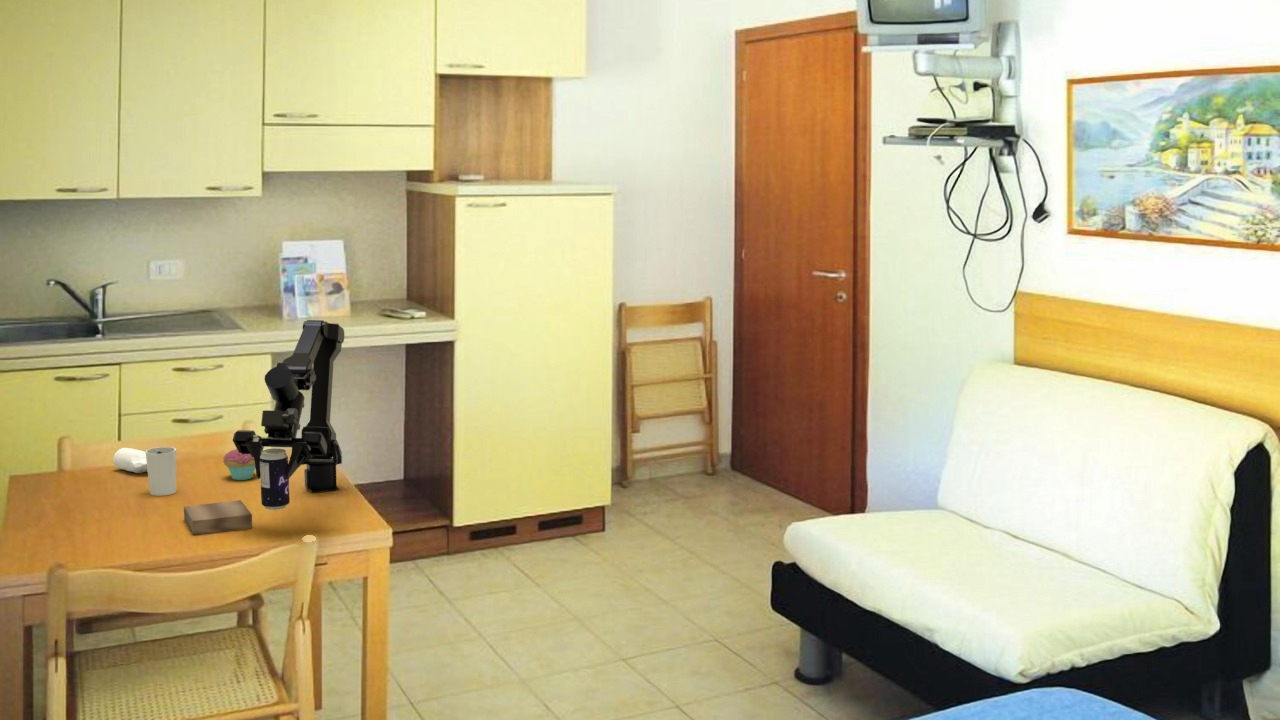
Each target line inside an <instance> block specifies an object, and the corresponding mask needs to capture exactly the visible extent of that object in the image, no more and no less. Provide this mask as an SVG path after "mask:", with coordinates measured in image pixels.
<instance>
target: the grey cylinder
mask: <svg viewBox="0 0 1280 720" xmlns="http://www.w3.org/2000/svg"><path fill="white" fill-rule="evenodd" d="M145 452H146V461H147V470H148V471H147V477H148V488H149V490H148V491H149V494H150V495H151V496H159V497H160V496H168V495H174V494H175V493H177V448H176V447H171V446H159V447H151V448H149V449H146V450H145Z"/></svg>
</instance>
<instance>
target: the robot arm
mask: <svg viewBox="0 0 1280 720" xmlns="http://www.w3.org/2000/svg"><path fill="white" fill-rule="evenodd" d="M344 342H345V329H344V328H343V327H342V326H341V325H340V324H339V323H332V322H331V323H330V322H328V321H325V320H323V319H320V320H319V319H307V320H305V321H304V322H303V323H302V331H301V334H300V336H299V339H298V341H297V344H296V346H295V348H294V350H293V353H292V354H291V355H290V356H288V357H287V358H284V360H282V361H281V362H277V364H276V366H275V367H272V368H271V369H269V370H268V371H267V373H266V374H265V375H264V383H265V385H266V387H267V389H268V391H269V394H270V397H271V398H272V400H274V401H275V405H274V409H273V410H270V409H269V410H267V409H266V410H262V413H261V424H260V426H261V427H264V430H263V432H264V433H265V435H266V434H267V436H260V435H258V434H256V432H255V430H249V429H248V430H245V429H239V430H237V431H235V432H234V434H233V438H232V442H233V444H234V446H235V448H236V449H237V450H238V451H239V453H241V454H251V456H252V457H254V461H255V475H256V479H258V480H259V479H260V456H261V454H262V453H261V452H262V451H263V450H265V449H264V448H267V447H268V448H269V447H270V448H291V454H290V456H289V459H288V467H287V470H286V476H285V477H286V479H289V480H290V478H291V477H292V476H293V475H294V473H295V472H296V471H297V470H298V468H300V467H301V466H302V465H306V468H305V469H304V472H303V473H304V474H303V475H304V486H305V488H307V490H308V491H309V492H310V493H320V492H328V491H330V492H331V491H337V490H339V488H340V487H339V486H338V485H337V466H338V465H342V464H343V455H342V449H341V446H340V444H339V442H338V440H337V432H336V431H335V429H334V427H333V426H332V424H331V408H332V392H333V390H332V389H333V377H334V376H333V374H334V361H335V360H336V358H337V357H338V356H339V355H340V353H341V351H342V344H343V343H344ZM310 390H311V396H310V397H311V399H310V415H309V417H310V418H309V422H307V424H306V425H305V426H303V427H302V428H301V424H300V422H301V421H300V420H301V417H302V412H303V408H305V395H304V394H303V392H301V391H310ZM300 429H301V437H297V435H298V434H297V433H298V430H299V431H300ZM260 480H261V479H260Z"/></svg>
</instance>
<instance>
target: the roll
mask: <svg viewBox="0 0 1280 720" xmlns="http://www.w3.org/2000/svg"><path fill="white" fill-rule="evenodd" d="M112 462H113V466H114V467H116V468H117V469H118V470H123V471H127V472H132V473H136V474H141V473H142V474H143V473H146V472H147V473H148V470H147V461H146V451H144V450H140V449H136V448H130V447H122V448H120V449H118V450H117V451H116V452H115V454H114V455H113V459H112Z"/></svg>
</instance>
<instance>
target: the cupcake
mask: <svg viewBox="0 0 1280 720" xmlns="http://www.w3.org/2000/svg"><path fill="white" fill-rule="evenodd" d="M222 463H223V464H224V466H226V467H227V469H228V470H229V473H230V475H231V479H233V480H236V481H245V480H250V479H252V478H253V477H254V473H255V471H256V468H255V461H254V457H252V456H251V454H241V453H239V451H238V450H237V448H236V449H232V450H230V451H229V452H227V453H225V455H224V456H223V462H222Z"/></svg>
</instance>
